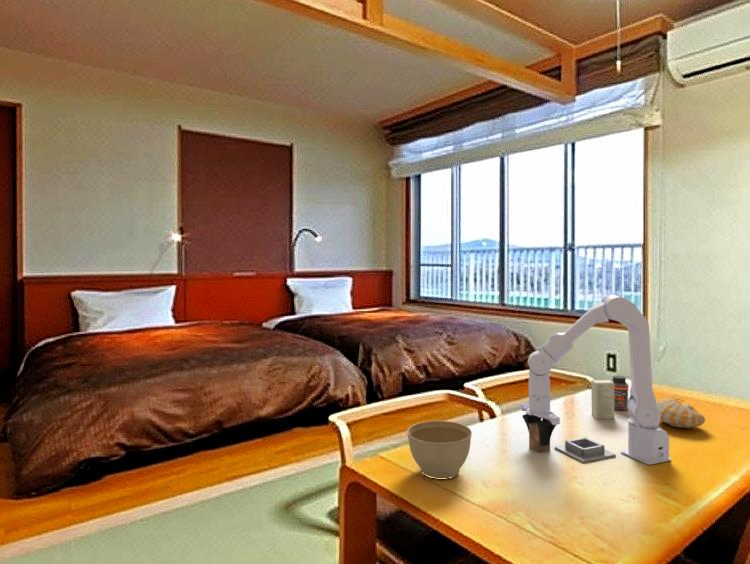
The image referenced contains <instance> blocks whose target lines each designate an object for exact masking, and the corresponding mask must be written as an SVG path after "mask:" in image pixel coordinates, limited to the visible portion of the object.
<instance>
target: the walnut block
mask: <svg viewBox="0 0 750 564" xmlns="http://www.w3.org/2000/svg"><path fill="white" fill-rule="evenodd" d="M528 448H529V449H530V450H532V451H535V452H536V453H544V452H550V451H551V440H550V441H549V445H546V446H542V445H541V442H540V433H539V428H538V426H537V423H530V424H529V431H528Z"/></svg>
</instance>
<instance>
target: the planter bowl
mask: <svg viewBox="0 0 750 564" xmlns="http://www.w3.org/2000/svg"><path fill="white" fill-rule="evenodd" d="M406 431H407V432H406V433H407V438H408V446H409V451H410V453H411V456H412V458H413V460H414V461H415V463H416V464H417V465H418V467H419V468H420V471H422V472H423V473H424V474H426V475H428V476H431V477H435V478H449V477H453V476H456V475H457V474H458V473H459V474H460V469H461V468H462V467H463V465H464V464H465V462H466V460H467V458H468V456H469V452H470V448H471V439H472V430H471V428H469V427H468V426H466V425H465V424H461V423H459V422H456V421H450V420H426V421H423V422H419V423H415V424H413V425H411V426H409V428H408V429H407V430H406ZM422 472H421V473H422ZM459 474H458V475H459ZM458 475H457V476H458ZM457 476H456V477H457Z"/></svg>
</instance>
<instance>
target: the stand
mask: <svg viewBox="0 0 750 564" xmlns="http://www.w3.org/2000/svg"><path fill="white" fill-rule="evenodd" d="M564 442H565V443H564V444H563V445H556V446H554V449H555V450H557V451H558V452H561V453H562V454H565V455H566V456H567V457H568V456H569V457H570V458H573V459H574V460H576V461H578V462H579V463H582V464H585V463H591V462H594V461H595V462H596V461H601V460H604V459H610V458H611V459H612V458H615V457H616V455H617V454H616V453H614V452H612V451H609V450H606V449H605V444H604V445H603V444H601V443H599V442H597V441H595V440H592V439H590V438H588V437H581V438H574V439H569V440H565V441H564Z"/></svg>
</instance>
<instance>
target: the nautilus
mask: <svg viewBox="0 0 750 564" xmlns="http://www.w3.org/2000/svg"><path fill="white" fill-rule="evenodd" d="M683 402H685V403H687V401H685V400H683V399H679V398H674V396H673V397H672V398H663V399H660V400H659V401H658V402H656V405H657V407H658V409H659V410H660V413H661V418H660V421H659V422H662V423H665V424H667V425H670V426H671V427H675V428H685V429H686V428H687V429H688V430H689V429H691V428H697V427H700V426H702V425H704V423H705V422H706V418H705V416H704V415H703V414H701V413H700V412H698V410H697V409H695V408H694V406H692V405H690V404H688V403H687V404H685V403H683Z"/></svg>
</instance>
